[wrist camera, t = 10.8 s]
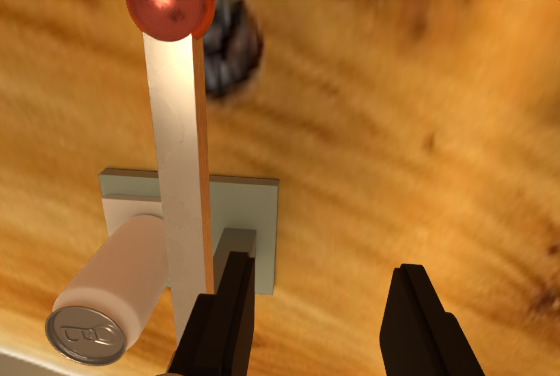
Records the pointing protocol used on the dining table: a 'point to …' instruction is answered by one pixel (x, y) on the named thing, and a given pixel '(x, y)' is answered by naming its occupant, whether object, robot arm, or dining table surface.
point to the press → (224, 216)
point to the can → (112, 295)
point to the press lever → (180, 141)
